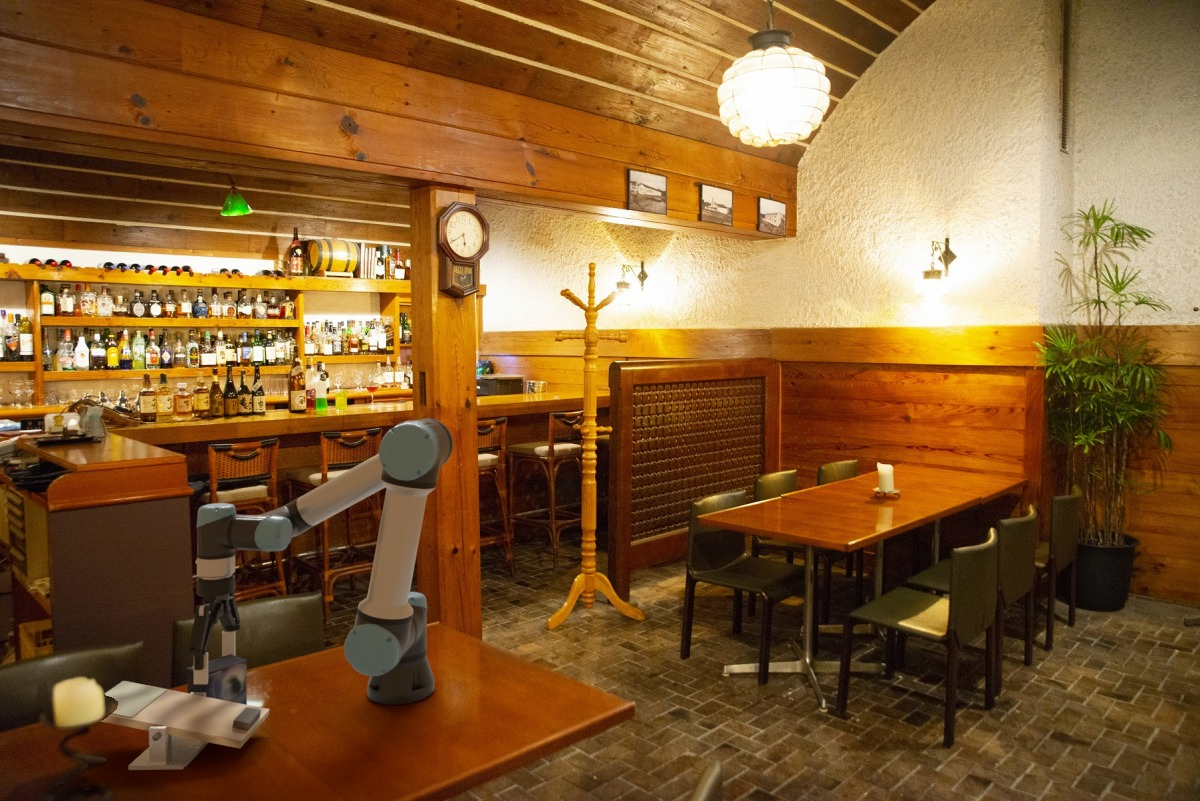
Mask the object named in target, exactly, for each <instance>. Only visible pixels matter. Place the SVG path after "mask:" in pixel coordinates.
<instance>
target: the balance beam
mask: <svg viewBox="0 0 1200 801" xmlns="http://www.w3.org/2000/svg"><path fill="white" fill-rule="evenodd" d="M104 694H105V695H106V696H109V697H112V698H114V699H115V700H116V701H118V706H117V709H116V710H115V711H114V712H113V713H112V714H111V715H109V716H108V717H107V718H105V719H104V720H102V721H100V722H102V723H107V724H112V725H117V726H121V727H122V726H123V727H128V728H133V729H137V730H142V731H147V732H149V728H150V727H157V726H167V727H168V735H173V736H178V737H184V738H189V739H194V740H199V741H204V742H209V743H211V744H216V745H219V746H220V745H221V746H225V747H232V748H236V749H241V748H242V747H243V746H244V744H246V742H248V740H249V739H250V737H252V735H254V733H255V732H256V731H257V730H258V728H259V727H260V726H261V725H262V724H263V723H264V722H265V721H266V719H267V718H268V717H269V714H270V708H266V707H265V708H264V707H259V706H255V705H250V704H247V705H245V704H240V703H235V702H230V701H225V700H220V699H215V698H210V697H204V696H199V695H194V694H189V693H187V692H183V691H179V690H173V689H168V688H163V687H159V686H158V687H157V686H153V685H146V684H143V683H142V684H141V683H136V682H132V681H129V680H128V681H127V680H122V681H120V683H118V684H116V685H115V686H113V687H112V688H111V689H109V690H107V691H106V692H105V693H104ZM209 743H208V744H209Z"/></svg>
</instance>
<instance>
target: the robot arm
mask: <svg viewBox="0 0 1200 801" xmlns="http://www.w3.org/2000/svg"><path fill="white" fill-rule="evenodd" d="M454 443H455V442H454V437H453V434H452V432H451V431H450V429H449V427H447V426H446V425H445V424H444V423H442V422H441V421H440V420H438V419H435V418H428V417H427V418H419V419H416V420H415V419H414V420H405V421H402V422H400V423H397V425H395V426H393V427H392V428H390V429H389V430H388V431H387V432H386V433H385V434H384V436H383V437H382V440H381V441H380V444H379V447H378V453H376V454H375V455H373V456H372V457H370V458H368V459H366V460H365V461H362V462H361V463H359V464H358V465H355V466H354V467H352V468H350V469H348V470H347V471H344V472H343V473H341V474H339V475H337V476H336V477H333V478H332V479H330V480H328V481H326V482H325V483H322V484H321V485H319V486H317V487H316V488H314V489H312V490H310V491H308V492H306V493H305V494H303V495H301V496H299V497H297V498H296V499H294V500H292V501H290V502H288V503H287V504H285V505H283V506H280V507H278V508H275V509H273V510H270V511H267V512H264V513H261V514H239V513H237V510H236V506H235V505H234V504H233V503H227V502H222V503H221V502H219V503H217V502H216V503H208V504H205V505H202V506H200V507H199V508H198V510H197V521H196V541H197V542H196V546H197V548H196V549H197V550H196V552H197V553H196V560H195V564H196V575H197V576H198V577H197V579H196V595H198V596H199V597H202V598H203V602H202V605H196V606H195V615H194V621H193V625H192V630H191V634H190V639H189V644H188V649H187V655H193V666H194V684H208V661H209V652H207V650H208V646H209V644H210V641H211V637H212V634H213V631H214V628H215V625H216V624H218V622H220V624H221V626H222V627H223V630H222V632H221V657H223V656H226V655H230V654H232V655H235V656H236V641H237V640H236V636H237V635H236V634H237V632H236V631H240V630H241V625H240V624H241V618H240V614H239V609H238V605H237V600H236V597H235V596H236V595H235V592H236V591H235V590H236V586H235V585H236V575H235V572H236V550H240V551H257V552H258V551H260V552H267V553H270V552H282V551H285V550H286V549H287V548H288V545H289V544H290V543H291V540H292V538H295V537H298V536H300V535H302V534H304V533H305V532H306V531H308V530H310V529H311V528H314V526H317V525H318V524H320V523H322V522H324V521H326V520H327V519H329V518H332V517H334V516H335V515H337V514H340V512H342V511H345V510H346V509H348V508H349V507H352V506H353V505H355V504H357V503H359V502H361V501H363V500H364V499H366V498H368V497H370V496H372V495H374V494H376V493H377V492H379V491H381V490H383V489H385V488H386V490H385V496H384V501H383V507H382V514H381V519H380V524H379V530H378V535H377V541H376V547H375V552H374V557H373V562H372V569H371V573H370V580H369V585H368V591H367V596H366V597H365V598H364V599H363V600H361V601H359V603H358V606H357V610H356V611H357V612H356V617H355V620H354V621H355V622H354V626H353V628H351V629H350V631H349V632H348V634H347V636H346V638H345V640H344V646H343V651H344V657H345V659H346V661H347V663H349V665H350V666H351V668H352V669H353V670H355V671H356V672H358V673H359V674H361V675H364V676H367V677H369V679H368V682H367V691H366V692H367V698H368V699H369V700H371V701H372V702H374V703H376V704H381V705H382V704H383V705H393V706H394V705H395V706H396V705H397V706H398V705H406V704H411V703H412V704H413V703H415V702H419V701H422V700H424V699H427V698H428V697H430V696H431V695H432V694H433V693H434V692H433V691H435V677H434V674H433V671H432V667H431V666H430V662H429V658H428V656H427V655H428V654H427V650H428V646H427V645H428V644H427V643H428V641H427V640H428V639H427V628H428V626H427V625H428V622H427V621H428V616H427V614H428V606H427V597H426V595H424V594H423V593H421V592H417V591H411V587H412V582H413V577H414V571H415V564H416V560H417V555H418V554H417V553H418V548H419V543H420V538H421V532H422V526H423V521H424V515H425V510H426V504H427V500H428V499H427V498H428V496H429V494H430V493H432V492H433V491H434V490H436V489H437V484H438V478H439V475H440V474H439V473H440V468H441V467H443V466H444V465H445V464H446V463H447V462H448V461H449V459H450V458H451V457H452V453H453V451H454ZM432 692H433V693H432ZM431 693H432V694H431ZM430 694H431V695H430ZM429 695H430V696H429ZM427 696H428V697H427Z"/></svg>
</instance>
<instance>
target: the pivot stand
mask: <svg viewBox="0 0 1200 801" xmlns="http://www.w3.org/2000/svg"><path fill="white" fill-rule="evenodd" d="M190 694H194V695H199V696H204V697H206V692H191V693H190ZM208 744H209V742H204V741H199V740H194V739H189V738H184V737H178V736H173V735H168V727H167V726H157V727H150V728H149V731H148V747H147V748H146V749H145V750H144V751H143V752H142V753H141V754H140V755H139V756H137V757H136V758H135V759H134V760H133V761H132V762H131V763H129V764H128V765H127V767H128V768H127V770H128V771H143V770H144V771H149V770H150V771H153V770H154V771H155V770H156V771H158V770H161V771H162V770H165V771H166V770H185V768H186V767H187V766H188V765H189V764H190V763H191V762H192V761H193V760H194V759H195V758H196V757H197V755H199V754H200V753H201V751H203V749H204V748H205V747H206V746H207V745H208ZM184 767H185V768H184Z"/></svg>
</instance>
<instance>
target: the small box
mask: <svg viewBox="0 0 1200 801" xmlns="http://www.w3.org/2000/svg"><path fill="white" fill-rule="evenodd" d="M247 667H248V660H247V659H245V658H243V657H239V656H237V655H236V654H235V655H232V654H230V655H226V656H223V657H222V656H221V657H218V658H217V657H216V658H214V659H210V660H208V684H194V665H192V666H188V667H187V668H186V670H187V692H186V693H189V694H190V693H191V692H206V697H210V698H215V699H220V700H225V701H230V702H235V703H240V704H245V705H248V703H247V702H248V701H247V700H248V698H247V696H248V695H247V693H248V691H247V690H248V689H247V687H248V685H247V683H248V682H247V679H248V677H247V676H248V675H247V674H248V672H247V671H248V668H247Z"/></svg>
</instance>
